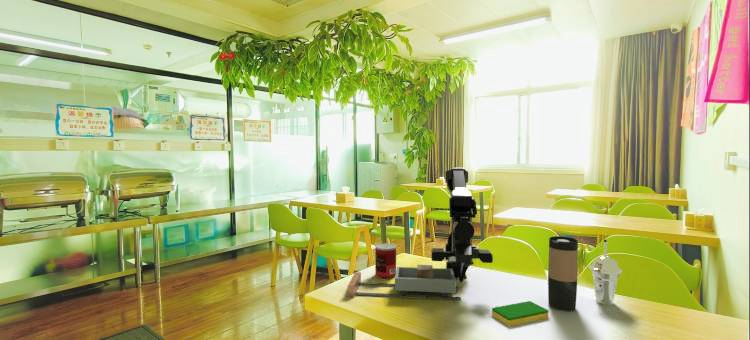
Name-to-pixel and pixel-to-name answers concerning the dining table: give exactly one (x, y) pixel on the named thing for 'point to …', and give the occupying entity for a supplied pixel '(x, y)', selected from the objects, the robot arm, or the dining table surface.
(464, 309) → the dining table surface
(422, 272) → the walnut block
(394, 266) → the canned food
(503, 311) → the dish sponge
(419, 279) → the grey open tray
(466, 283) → the dining table surface
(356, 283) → the track
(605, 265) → the cup with straw
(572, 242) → the travel mug
